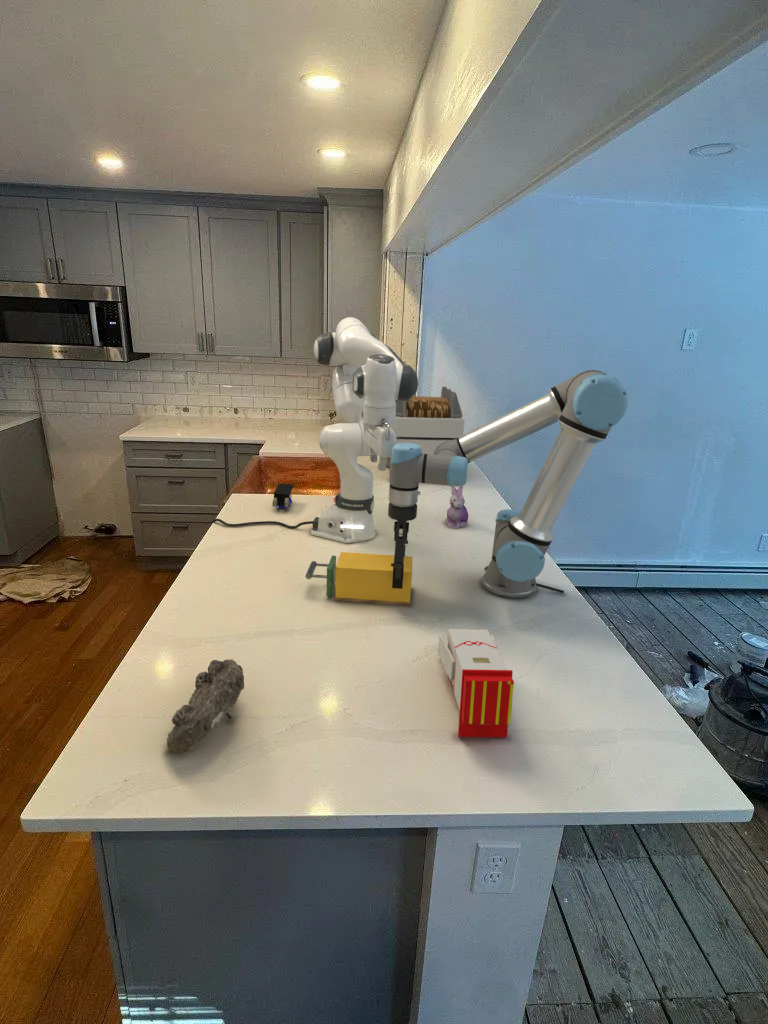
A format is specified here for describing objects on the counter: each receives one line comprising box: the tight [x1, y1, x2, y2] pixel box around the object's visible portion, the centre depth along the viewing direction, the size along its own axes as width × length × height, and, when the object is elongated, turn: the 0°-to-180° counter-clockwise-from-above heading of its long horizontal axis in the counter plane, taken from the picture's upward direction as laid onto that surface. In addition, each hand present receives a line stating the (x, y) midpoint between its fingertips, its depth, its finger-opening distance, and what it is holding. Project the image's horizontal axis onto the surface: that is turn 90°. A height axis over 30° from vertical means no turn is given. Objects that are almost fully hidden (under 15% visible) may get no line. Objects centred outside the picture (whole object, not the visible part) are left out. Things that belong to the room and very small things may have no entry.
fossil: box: [166, 658, 245, 754], centre depth 106 cm, size 22×10×15 cm
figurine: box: [445, 486, 469, 529], centre depth 209 cm, size 9×10×15 cm
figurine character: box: [272, 483, 295, 512], centre depth 220 cm, size 7×8×15 cm
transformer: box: [386, 386, 465, 479], centre depth 268 cm, size 34×33×41 cm
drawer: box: [304, 555, 337, 597], centre depth 156 cm, size 25×9×8 cm, turn 86°
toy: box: [437, 628, 515, 738], centre depth 117 cm, size 12×13×30 cm
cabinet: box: [334, 551, 414, 607], centre depth 155 cm, size 20×10×10 cm, turn 86°
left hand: (377, 465), depth 159 cm, fingers open, 8 cm apart
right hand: (398, 576), depth 155 cm, fingers open, 13 cm apart
